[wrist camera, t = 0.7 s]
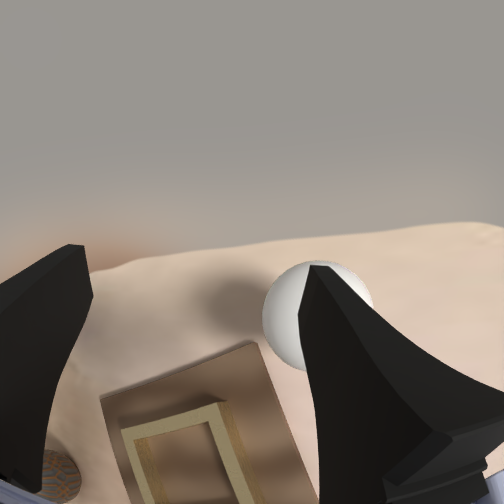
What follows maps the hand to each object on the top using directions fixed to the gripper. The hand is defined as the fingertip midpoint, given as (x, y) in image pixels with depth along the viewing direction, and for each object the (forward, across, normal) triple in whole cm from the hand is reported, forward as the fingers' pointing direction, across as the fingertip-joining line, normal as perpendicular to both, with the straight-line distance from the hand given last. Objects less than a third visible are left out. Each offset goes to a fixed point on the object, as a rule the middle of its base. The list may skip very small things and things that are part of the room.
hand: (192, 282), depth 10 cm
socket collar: (+2, 0, +22) cm, 22 cm away
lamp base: (+2, 0, +22) cm, 22 cm away
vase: (+2, +16, +33) cm, 37 cm away
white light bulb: (+9, -10, +11) cm, 17 cm away
